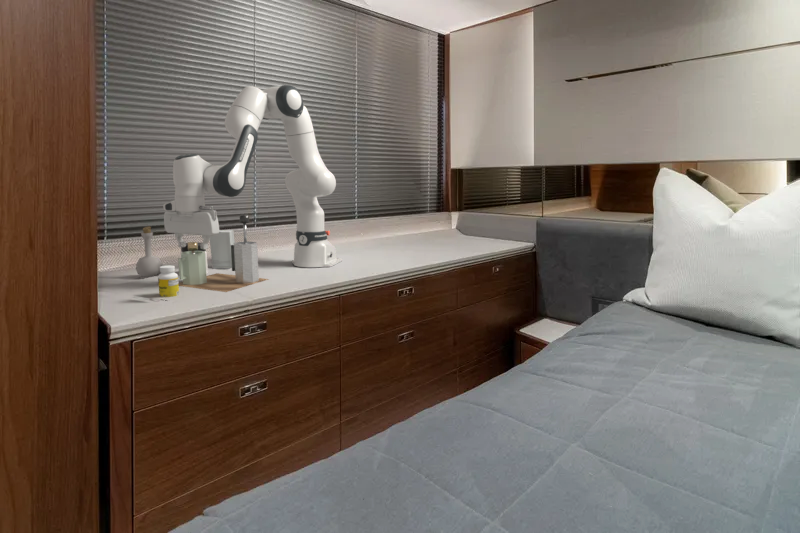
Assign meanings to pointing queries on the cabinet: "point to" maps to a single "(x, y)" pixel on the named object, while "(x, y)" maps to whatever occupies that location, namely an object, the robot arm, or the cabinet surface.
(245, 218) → the steel plunger
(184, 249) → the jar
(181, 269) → the pale green octagonal mug
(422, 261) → the cabinet surface
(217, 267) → the skincare box
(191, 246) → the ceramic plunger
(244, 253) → the steel press
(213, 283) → the serving board
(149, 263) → the potion bottle
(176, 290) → the supplement bottle
